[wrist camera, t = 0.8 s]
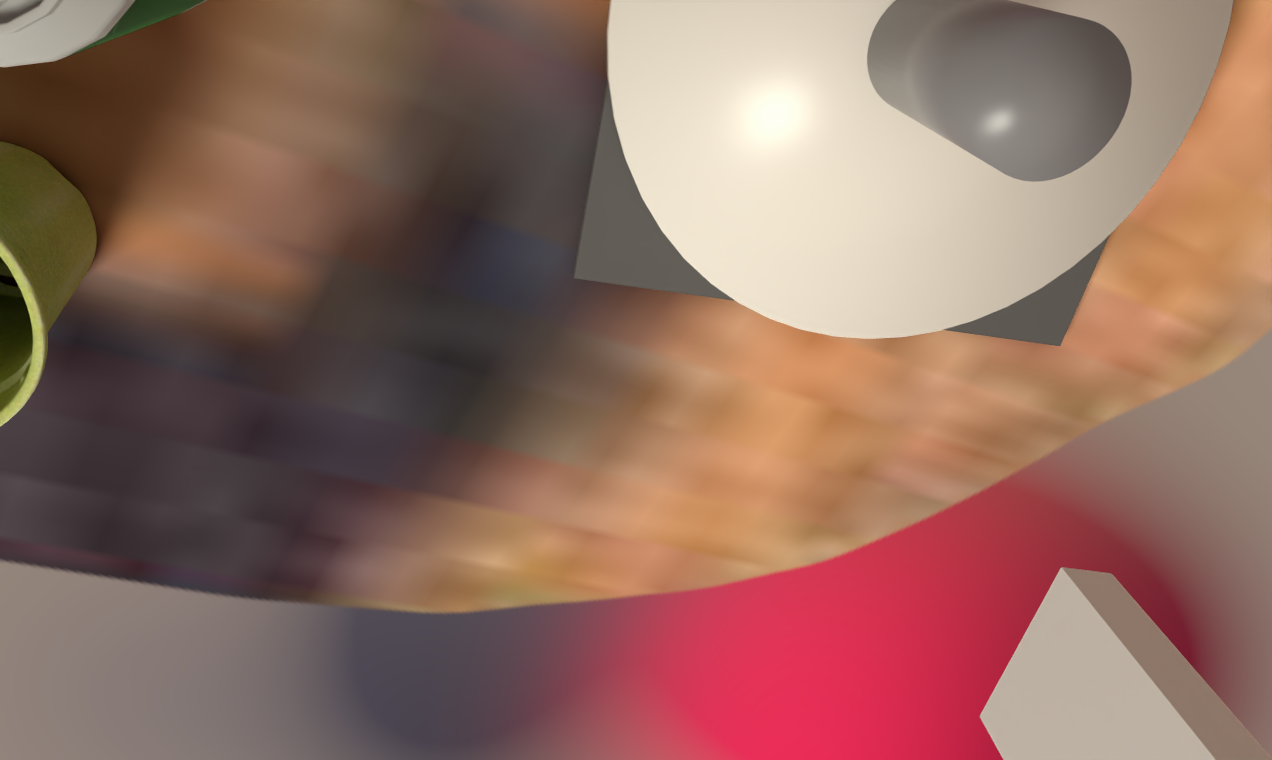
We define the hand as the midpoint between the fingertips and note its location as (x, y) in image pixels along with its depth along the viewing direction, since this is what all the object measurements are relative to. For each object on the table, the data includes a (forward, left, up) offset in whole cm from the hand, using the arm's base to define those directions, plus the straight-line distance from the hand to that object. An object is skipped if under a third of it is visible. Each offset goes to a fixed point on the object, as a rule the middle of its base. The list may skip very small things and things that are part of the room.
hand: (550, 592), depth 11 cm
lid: (-5, +14, -26) cm, 30 cm away
